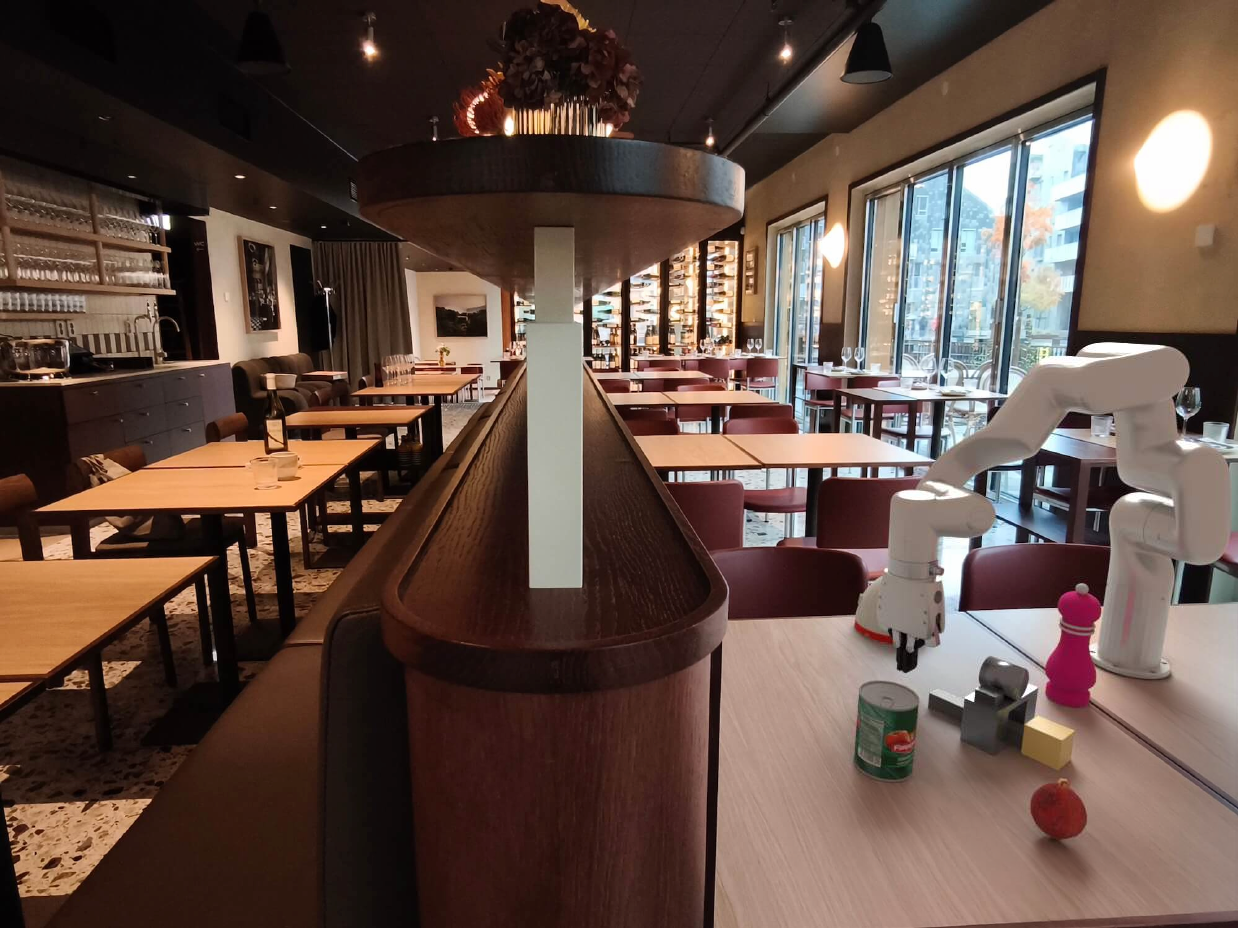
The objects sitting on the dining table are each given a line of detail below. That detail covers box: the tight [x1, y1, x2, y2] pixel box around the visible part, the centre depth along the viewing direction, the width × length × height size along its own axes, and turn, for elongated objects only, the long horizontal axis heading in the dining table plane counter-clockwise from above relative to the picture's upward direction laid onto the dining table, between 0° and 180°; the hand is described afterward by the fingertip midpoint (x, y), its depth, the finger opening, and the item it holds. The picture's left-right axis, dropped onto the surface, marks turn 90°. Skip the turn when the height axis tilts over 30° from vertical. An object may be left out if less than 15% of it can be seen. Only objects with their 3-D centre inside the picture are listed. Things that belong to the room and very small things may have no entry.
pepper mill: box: [1044, 583, 1102, 708], centre depth 119 cm, size 7×7×20 cm
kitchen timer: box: [854, 575, 894, 645], centre depth 146 cm, size 14×14×15 cm
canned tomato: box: [853, 679, 920, 783], centre depth 102 cm, size 8×8×11 cm
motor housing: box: [959, 655, 1039, 756], centre depth 109 cm, size 12×5×12 cm, turn 126°
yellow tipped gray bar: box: [927, 688, 1076, 771], centre depth 110 cm, size 4×20×5 cm, turn 37°
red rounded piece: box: [1029, 777, 1088, 841], centre depth 88 cm, size 6×6×8 cm
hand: (906, 669), depth 123 cm, fingers closed
